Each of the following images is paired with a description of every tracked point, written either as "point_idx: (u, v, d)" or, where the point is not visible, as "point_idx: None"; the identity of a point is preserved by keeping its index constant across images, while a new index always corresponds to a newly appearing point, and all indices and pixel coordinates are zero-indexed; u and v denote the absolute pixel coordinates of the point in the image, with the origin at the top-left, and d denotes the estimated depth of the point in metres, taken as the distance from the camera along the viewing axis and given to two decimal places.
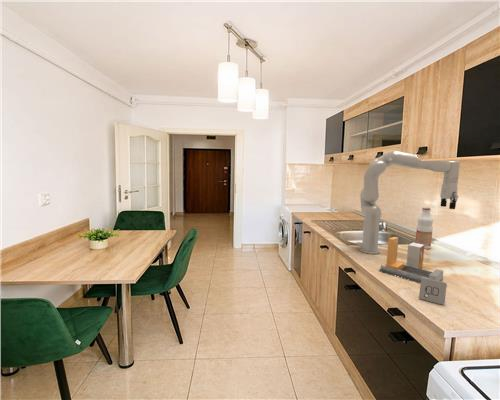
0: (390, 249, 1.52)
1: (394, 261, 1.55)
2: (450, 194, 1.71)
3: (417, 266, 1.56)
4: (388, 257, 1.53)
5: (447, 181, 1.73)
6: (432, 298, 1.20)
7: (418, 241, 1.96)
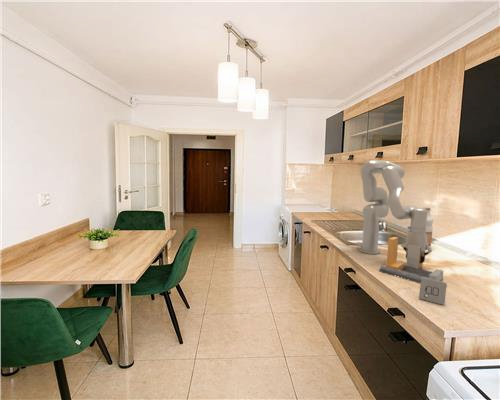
0: (390, 249, 1.52)
1: (394, 261, 1.55)
2: (425, 247, 1.54)
3: (417, 266, 1.56)
4: (388, 257, 1.53)
5: (420, 232, 1.54)
6: (432, 298, 1.20)
7: None
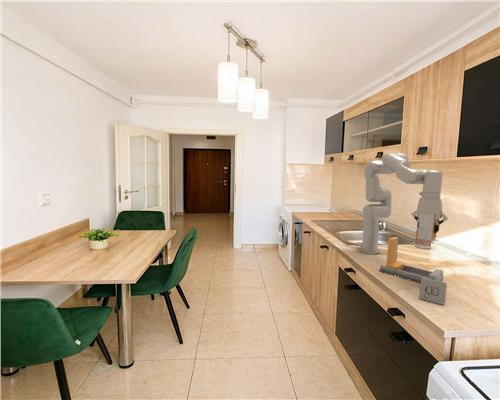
0: (390, 249, 1.52)
1: (394, 261, 1.55)
2: (440, 214, 1.35)
3: (430, 236, 1.37)
4: (388, 257, 1.53)
5: (434, 197, 1.35)
6: (432, 298, 1.20)
7: (418, 241, 1.96)
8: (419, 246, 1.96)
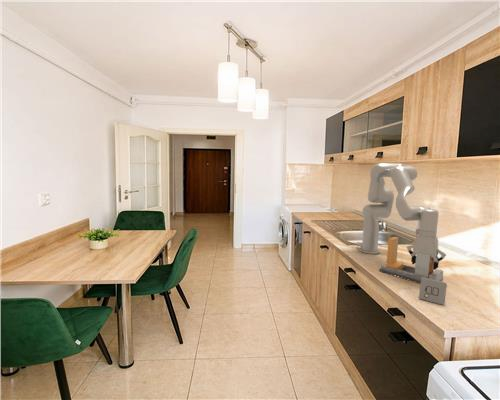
0: (390, 249, 1.52)
1: (394, 261, 1.55)
2: (436, 252, 1.37)
3: (426, 276, 1.39)
4: (388, 257, 1.53)
5: (430, 236, 1.37)
6: (432, 298, 1.20)
7: None
8: None
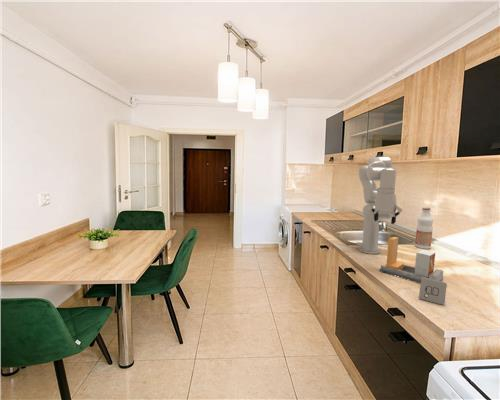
0: (390, 249, 1.52)
1: (394, 261, 1.55)
2: (393, 207, 1.50)
3: (426, 276, 1.39)
4: (388, 257, 1.53)
5: (388, 192, 1.51)
6: (432, 298, 1.20)
7: (418, 241, 1.96)
8: (419, 246, 1.96)
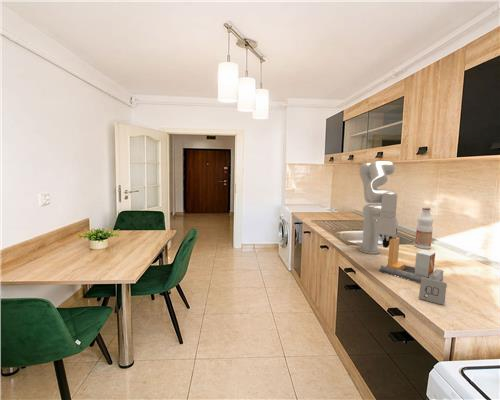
0: (391, 250, 1.51)
1: (395, 261, 1.55)
2: (395, 231, 1.51)
3: (426, 276, 1.39)
4: (389, 257, 1.52)
5: (390, 216, 1.51)
6: (432, 298, 1.20)
7: (418, 241, 1.96)
8: (419, 246, 1.96)
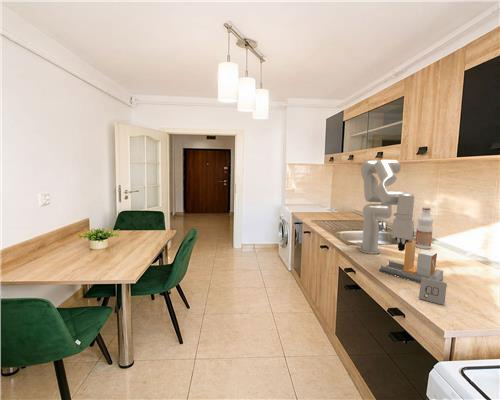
0: (407, 253, 1.45)
1: (411, 266, 1.49)
2: (411, 234, 1.45)
3: (428, 277, 1.39)
4: (405, 261, 1.46)
5: (406, 219, 1.45)
6: (432, 298, 1.20)
7: (418, 241, 1.96)
8: (419, 246, 1.96)
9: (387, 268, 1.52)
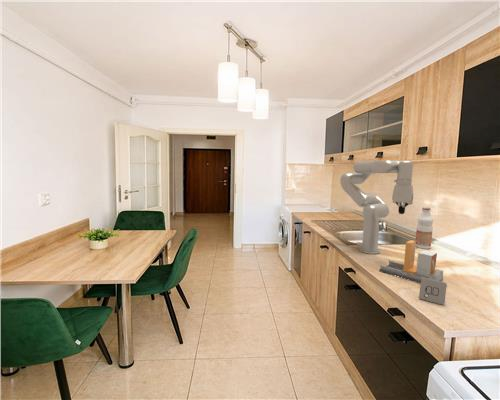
0: (407, 253, 1.45)
1: (411, 266, 1.49)
2: (410, 197, 1.59)
3: (428, 277, 1.39)
4: (405, 261, 1.46)
5: (406, 183, 1.59)
6: (432, 298, 1.20)
7: (418, 241, 1.96)
8: (419, 246, 1.96)
9: (387, 268, 1.52)
